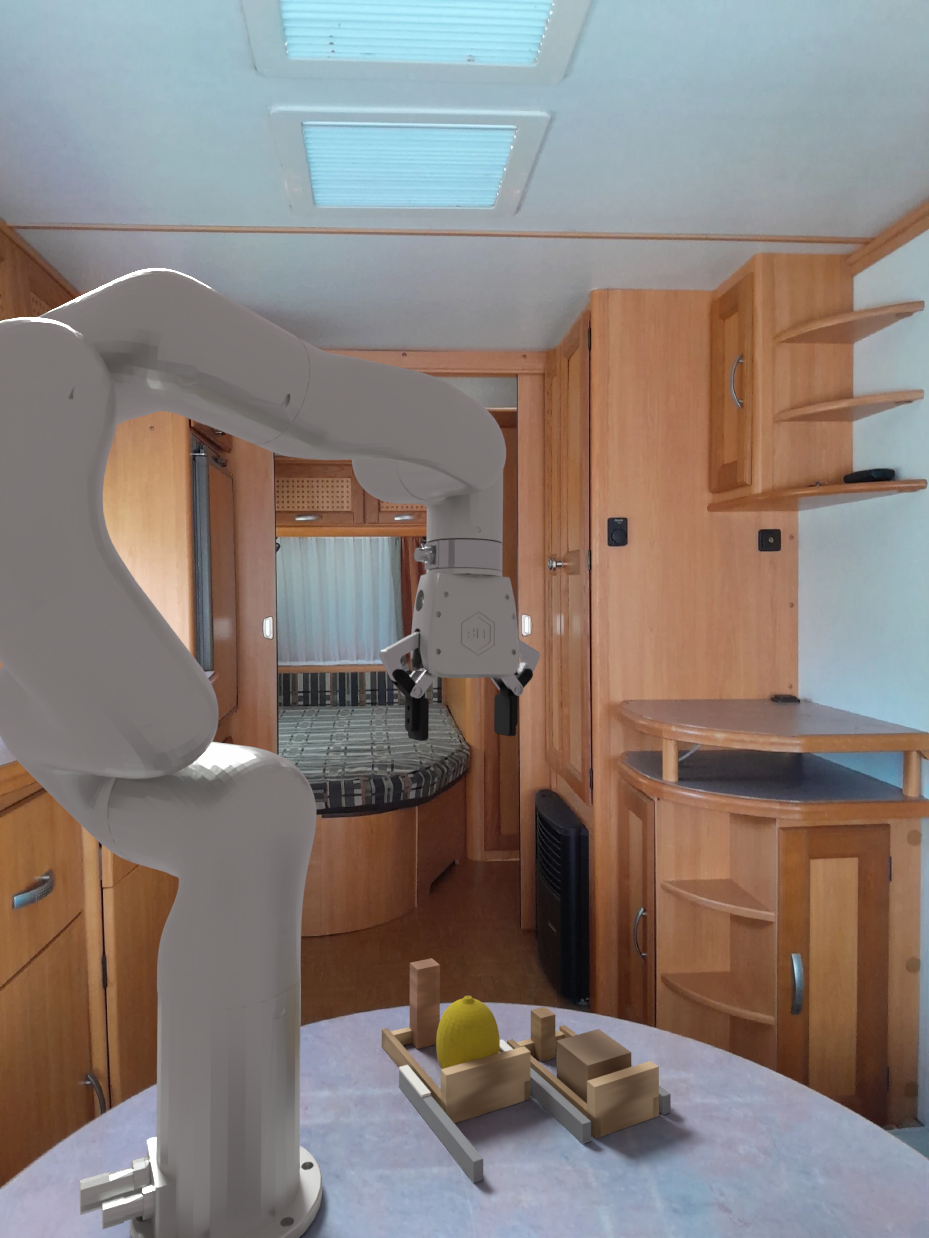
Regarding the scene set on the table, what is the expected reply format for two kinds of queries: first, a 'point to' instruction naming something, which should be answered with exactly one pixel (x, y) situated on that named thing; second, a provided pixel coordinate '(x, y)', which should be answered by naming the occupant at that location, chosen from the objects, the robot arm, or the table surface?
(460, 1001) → the lemon
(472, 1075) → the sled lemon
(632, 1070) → the cube
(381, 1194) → the table surface
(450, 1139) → the lane rails
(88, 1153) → the table surface
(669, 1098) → the rail right
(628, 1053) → the walnut cube
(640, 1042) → the table surface
